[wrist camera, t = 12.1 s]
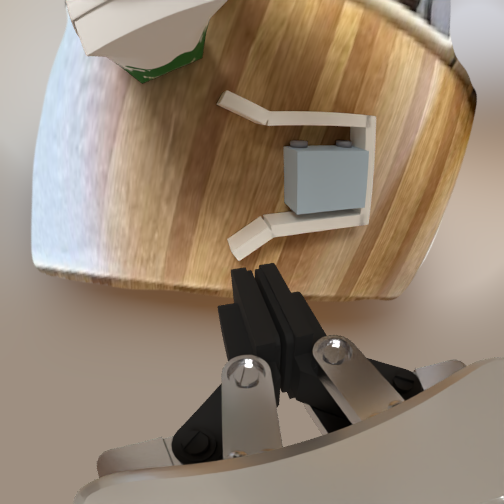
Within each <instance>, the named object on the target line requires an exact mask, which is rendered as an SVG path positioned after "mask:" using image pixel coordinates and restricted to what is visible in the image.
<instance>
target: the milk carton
mask: <svg viewBox="0 0 504 504" xmlns="http://www.w3.org/2000/svg"><path fill="white" fill-rule="evenodd" d="M227 1H228V0H66V3H67V6H68V7H67V8H68V12H69V15H70V19H71V22H72V24H73V27H74V29H75V31H76V33H77V35H78V36H79V38H80V40H81V43H82V46H83V49H84V51H85V54H86V56H102V57H107V58H109V59H110V60H112V61H113V62H114V63H116V64H117V65H119V66H120V67H122V68H123V69H124V70H126V71H127V72H128V73H129V74H131V75H132V76H133V77H135V78H136V79H137V80H138V81H140V82H141V83H145V82H147V81H149V80H152V79H154V78H157V77H159V76H161V75H163V74H166V73H168V72H170V71H172V70H175V69H177V68H180V67H182V66H185V65H187V64H189V63H192V62H194V61H196V60H198V59H201V58H202V56H203V49H204V42H205V36H206V31H207V27H208V24H209V20H210V18H211V17H212V16H213V15H214V14H215V13H216V12H217V11H218V10H219V9H220V8H221V7H222V6H223V5H224V4H225V3H226V2H227Z"/></svg>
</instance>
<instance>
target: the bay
mask: <svg viewBox="0 0 504 504" xmlns="http://www.w3.org/2000/svg"><path fill="white" fill-rule="evenodd" d="M216 105H218V106H220V107H223V108H225V109H227V110H229V111H231V112H233V113H236V114H238V115H240V116H242V117H244V118H246V119H248V120H250V121H252V122H254V123H256V124H260V125H267V126H278V125H326V126H350V141H352V146H353V147H357V148H360V149H364V150H367V151H369V161H368V177H367V189H366V200H365V208H355V209H345V210H335V211H325V212H316V213H307V214H298V215H297V214H296V213H295V212H294V211H291V212H282V213H274V214H265V215H263V219H264V220H263V219H262V217H261V216H260V217H258V218H257V219H255V220H254V221H252V222H251V223H250V224H248V225H247V226H245V227H244V228H242V229H241V230H240V231H238V232H237V233H235V234H234V235H232V236H231V237H230V238H228V239H227V240H228V243H229V246H230V249H231V252H232V253H233V255H234V256H235V257H236V258H237V259H238V261H240V260H242V259H243V258H244V257H246V256H247V255H249V254H250V253H252V252H253V251H255V250H256V249H258V248H259V247H260V246H262V245H263V244H265V243H266V242H268V241H269V240H271V239H272V238H273V237H280V236H288V235H295V234H302V233H309V232H316V231H324V230H331V229H339V228H346V227H354V226H361V225H368V224H369V216H370V208H371V198H372V188H373V176H374V162H375V142H376V116H370V115H360V114H349V113H334V112H312V111H268V110H266V109H264V108H262V107H261V106H259V105H257V104H255V103H253V102H251V101H249V100H247V99H245V98H242V97H240V96H238V95H236V94H234V93H232V92H230V91H228V90H227V91H225V92H223V93H222V95H221V97H220V99H219V101H218V102H217V104H216Z"/></svg>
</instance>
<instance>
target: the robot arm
mask: <svg viewBox="0 0 504 504" xmlns="http://www.w3.org/2000/svg"><path fill="white" fill-rule="evenodd" d="M231 277H232V287H233V297H234V303H233V304H227V305H221V306H218V313H219V319H220V325H221V330H222V336H223V340H224V345H225V349H226V354H227V358H228V362H227V363H226V364H225V366H224V367H223V370H222V383H221V385H220V386H219V387H218V388H217V389H216V390H215V391H214V393H212V395H211V396H210V397H209V398H208V399H207V400H206V401H205V402H204V403H203V404H202V406H201V407H200V408H199V409H198V410H197V411H196V412H195V413H194V414H193V415H192V416H191V417H190V419H189V420H188V421H187V422H186V423H185V424H184V425H183V426H182V427H181V428H180V429H179V430H178V431H177V432H176V434H175V435H174V436H172V437H169V438H165V439H163V438H162V437H160V438H156V439H152V440H149V441H145V442H141V443H137V444H133V445H128V446H124V447H120V448H115V449H110V450H107V451H105V452H103V453H102V454H101V455H100V456H99V458H98V461H97V471H98V475H99V479H96V480H94V481H92V482H90V483H88V484H86V485H85V486H83V487H82V488H81V489H80V490H79V491H78V492H77V494H76V496H75V498H74V501H73V504H504V358H490V359H484V360H480V361H477V362H475V363H472V364H470V365H468V366H466V365H465V364H464V363H463V362H461V361H458V360H449V361H445V362H441V363H438V364H434V365H430V366H425V367H421V368H417V369H415V370H414V372H411V371H409V370H406V369H403V368H399V367H396V366H392V365H389V364H385V363H382V362H378V361H375V360H372V359H368V358H366V357H365V356H364V355H363V354H362V352H361V351H360V350H359V349H358V348H357V347H356V346H355V345H354V343H352V342H351V341H350V340H349V339H347V338H345V337H342V336H338V335H329V336H326V334H325V332H324V330H323V329H322V327H321V326H320V324H319V322H318V320H317V319H316V317H315V316H314V314H313V312H312V311H311V309H310V307H309V306H308V304H307V302H306V301H305V299H304V297H303V296H302V294H301V293H300V292H293V293H291V292H290V290H289V288H288V286H287V285H286V283H285V281H284V279H283V278H282V276H281V274H280V272H279V271H278V269H277V267H276V265H275V264H274V263H270V264H264V265H260V266H259V269H256V270H255V278H254V275H253V273H252V271H251V270H250V271H247V270H246V268H239V269H232V270H231ZM280 389H281V391H282V392H287V393H288V396H289V398H290V399H291V398H296V400H298V401H300V402H302V403H304V407H305V409H306V410H307V412H308V414H309V415H310V417H311V418H312V420H313V421H314V423H315V424H316V426H317V427H318V429H319V430H320V432H321V434H322V435H323V436H320V437H317V438H314V439H310V440H308V441H304V442H301V443H297V444H294V445H290V446H287V447H283V446H282V439H281V433H280V426H279V420H278V414H277V407H278V405H279V395H280Z"/></svg>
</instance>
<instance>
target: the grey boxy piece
mask: <svg viewBox="0 0 504 504" xmlns="http://www.w3.org/2000/svg"><path fill="white" fill-rule="evenodd" d="M368 161H369V151H367V150H364V149H360V148H357V147H353V146H352V141H347V140H336V145H308V141H305V140H291V141H290V146H284V203H285V204H287V205H288V206H289V207H290V208H291V210H292V211H294V212H295V213H296V214H297V215H298V214H307V213H316V212H325V211H335V210H345V209H355V208H365V200H366V189H367V177H368Z"/></svg>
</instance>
